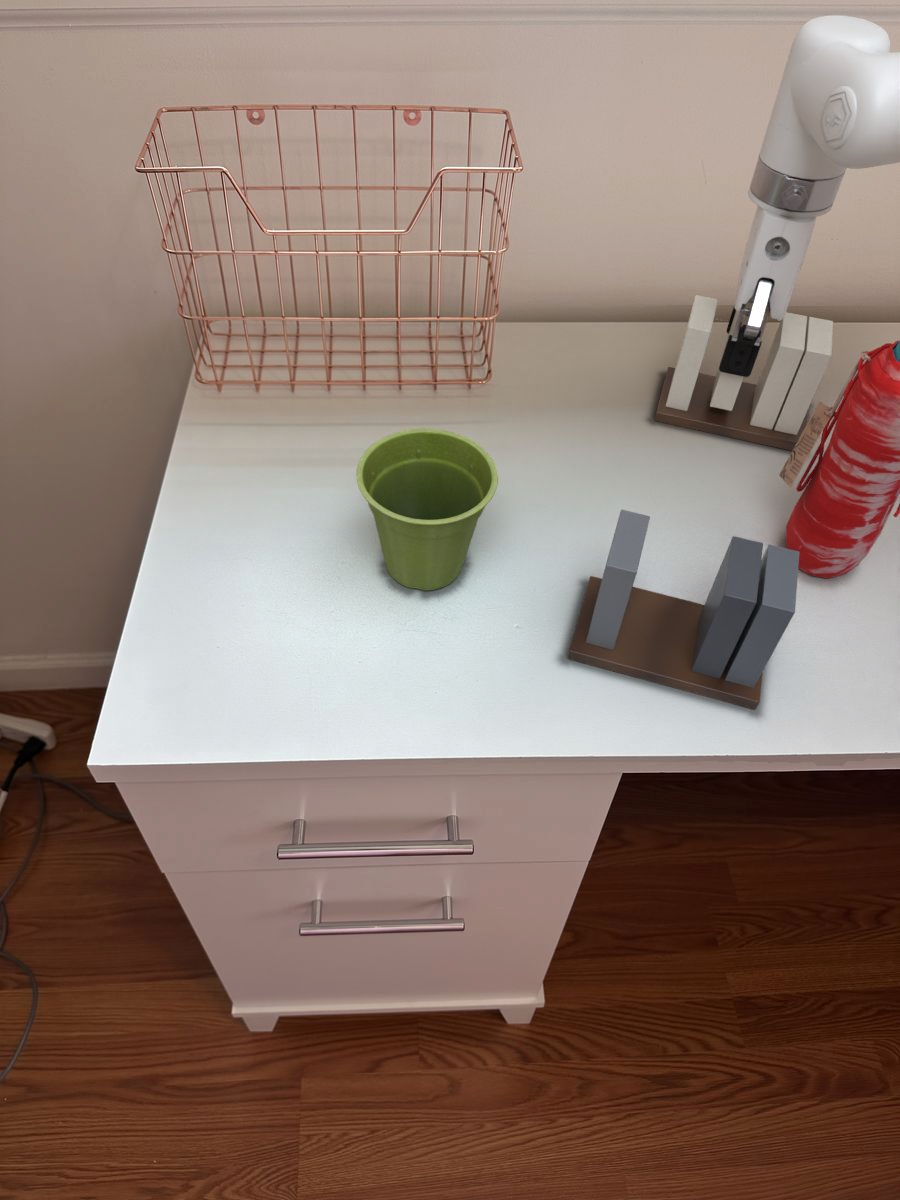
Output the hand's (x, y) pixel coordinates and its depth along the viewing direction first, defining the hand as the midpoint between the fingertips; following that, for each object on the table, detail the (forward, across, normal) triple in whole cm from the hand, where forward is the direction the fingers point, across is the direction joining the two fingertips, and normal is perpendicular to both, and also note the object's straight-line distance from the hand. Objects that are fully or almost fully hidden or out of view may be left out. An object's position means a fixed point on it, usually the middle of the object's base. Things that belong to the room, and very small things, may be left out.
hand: (737, 352), depth 91 cm
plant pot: (+8, -33, +24) cm, 41 cm away
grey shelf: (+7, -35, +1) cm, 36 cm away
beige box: (+5, 0, 0) cm, 5 cm away
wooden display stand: (+8, 0, -1) cm, 8 cm away
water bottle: (+8, -19, -10) cm, 23 cm away
